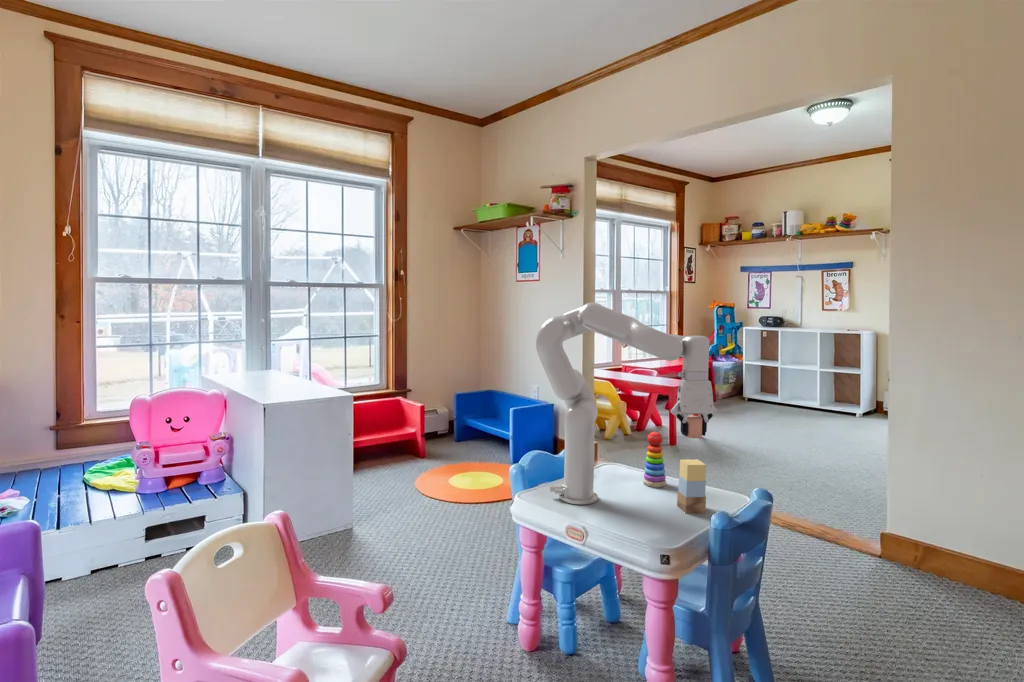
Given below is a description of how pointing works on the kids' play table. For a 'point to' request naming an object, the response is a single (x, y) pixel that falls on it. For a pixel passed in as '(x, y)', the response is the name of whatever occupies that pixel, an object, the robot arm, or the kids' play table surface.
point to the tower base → (691, 503)
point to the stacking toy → (654, 462)
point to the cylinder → (694, 426)
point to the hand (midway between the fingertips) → (693, 434)
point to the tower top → (692, 470)
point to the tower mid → (692, 488)
